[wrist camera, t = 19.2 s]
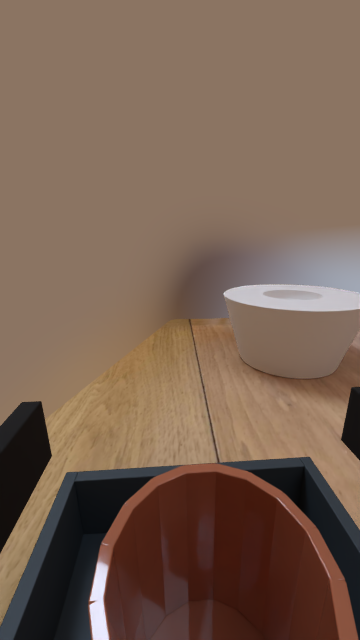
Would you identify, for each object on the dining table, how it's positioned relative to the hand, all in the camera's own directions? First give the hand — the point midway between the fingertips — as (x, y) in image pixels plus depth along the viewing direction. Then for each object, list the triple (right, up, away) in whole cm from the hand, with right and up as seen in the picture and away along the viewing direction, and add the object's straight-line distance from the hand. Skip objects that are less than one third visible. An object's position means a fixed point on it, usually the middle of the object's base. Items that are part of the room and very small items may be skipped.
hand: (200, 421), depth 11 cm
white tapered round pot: (+19, -3, +38) cm, 43 cm away
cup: (0, -13, 0) cm, 13 cm away
